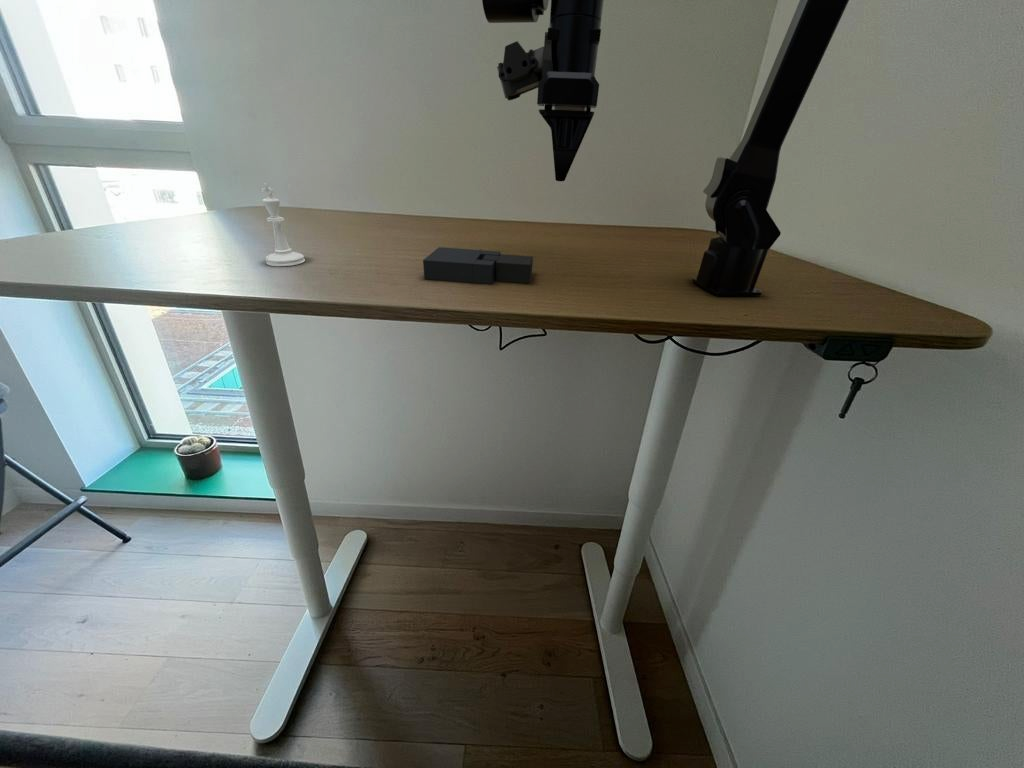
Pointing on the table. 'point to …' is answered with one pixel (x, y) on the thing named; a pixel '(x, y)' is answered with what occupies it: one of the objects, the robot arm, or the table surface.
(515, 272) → the dark grey block
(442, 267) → the charcoal pad
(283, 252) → the chess piece
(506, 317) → the table surface
